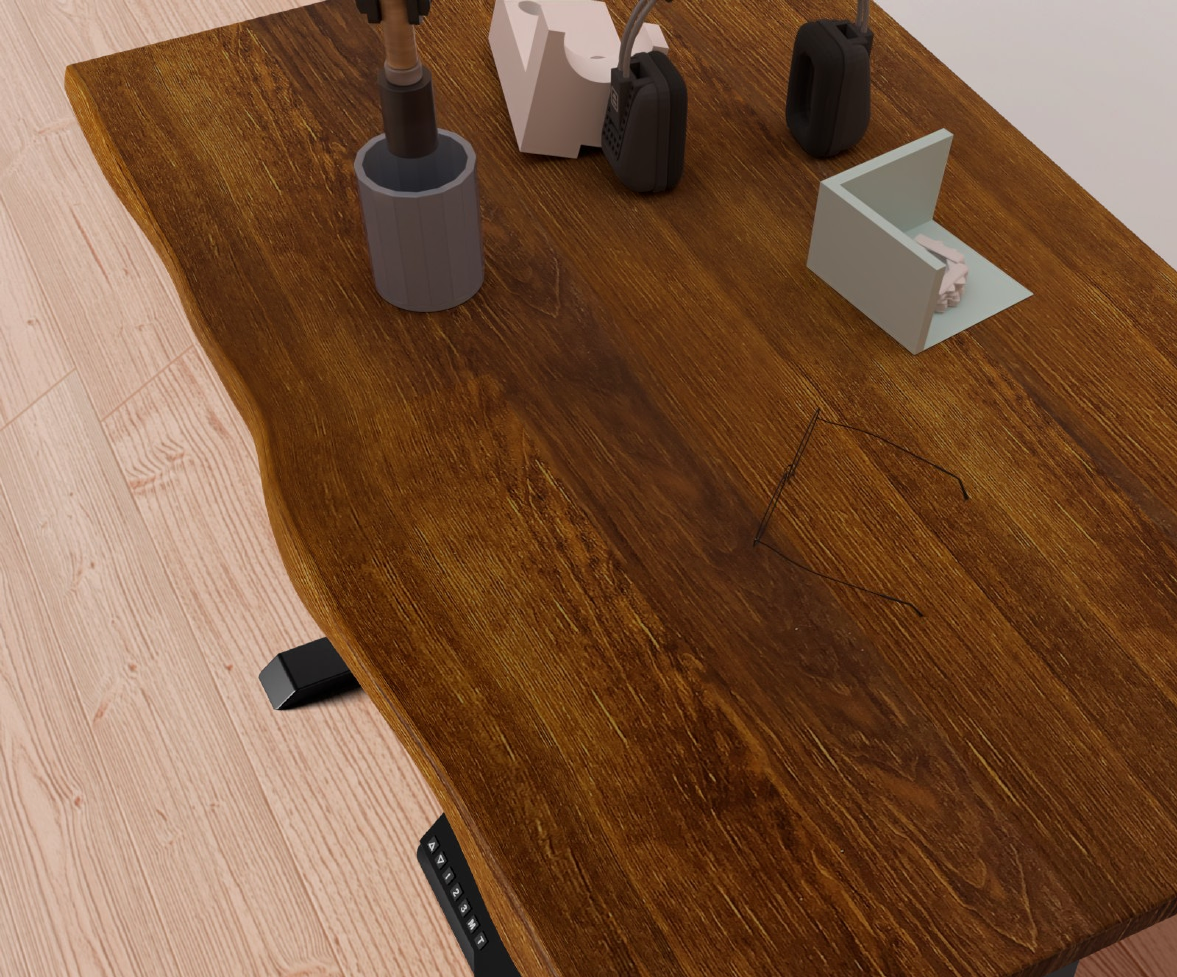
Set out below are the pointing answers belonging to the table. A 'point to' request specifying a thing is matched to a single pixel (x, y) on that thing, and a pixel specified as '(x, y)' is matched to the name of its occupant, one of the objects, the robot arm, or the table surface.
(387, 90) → the cylinder with wooden handle
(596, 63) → the white notched block
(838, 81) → the headphones
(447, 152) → the grey cup
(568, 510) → the table surface
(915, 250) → the l-shaped corner panel
